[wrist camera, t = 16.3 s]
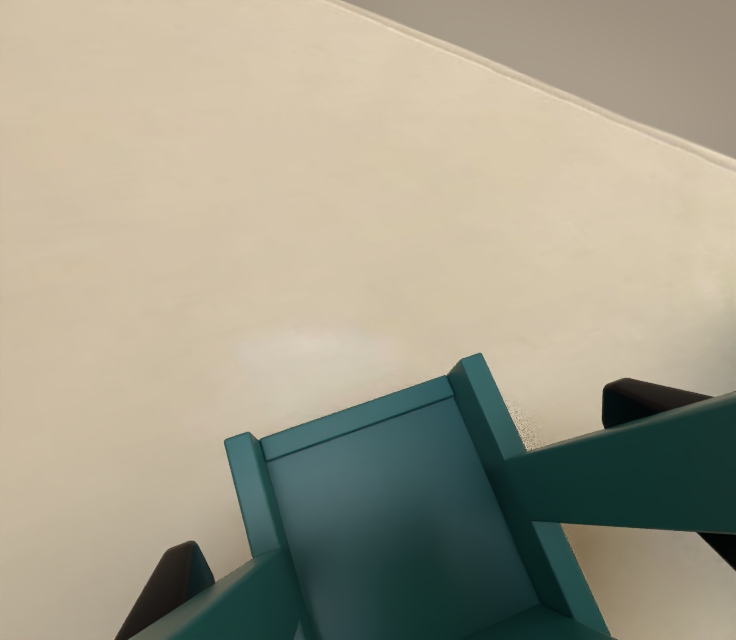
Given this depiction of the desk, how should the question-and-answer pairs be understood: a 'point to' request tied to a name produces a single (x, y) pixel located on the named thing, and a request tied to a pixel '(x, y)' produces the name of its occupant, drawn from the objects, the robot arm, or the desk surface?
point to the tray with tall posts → (448, 517)
